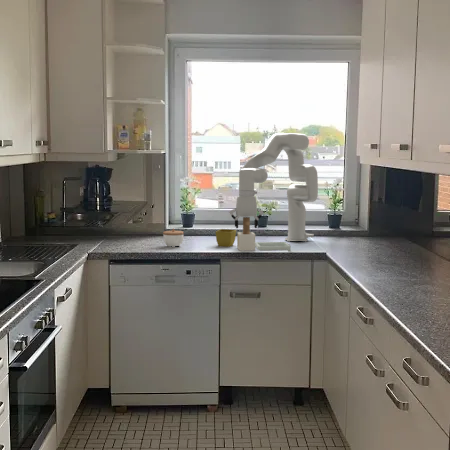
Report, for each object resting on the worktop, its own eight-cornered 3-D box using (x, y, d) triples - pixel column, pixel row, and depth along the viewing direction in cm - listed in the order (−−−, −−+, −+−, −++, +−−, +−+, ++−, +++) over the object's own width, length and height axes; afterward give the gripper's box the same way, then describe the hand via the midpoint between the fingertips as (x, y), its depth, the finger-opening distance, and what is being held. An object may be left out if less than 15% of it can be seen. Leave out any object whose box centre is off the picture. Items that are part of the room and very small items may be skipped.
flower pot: (231, 249, 327) (231, 231, 326) (215, 248, 330) (215, 231, 329) (236, 246, 335) (236, 229, 334) (220, 245, 338) (220, 229, 337)
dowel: (249, 248, 324) (249, 217, 322) (250, 249, 320) (250, 217, 318) (242, 248, 323) (242, 217, 321) (243, 249, 320) (243, 217, 318)
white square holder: (252, 249, 326) (252, 232, 325) (255, 252, 318) (255, 234, 317) (237, 249, 325) (237, 232, 324) (239, 252, 317) (239, 234, 316)
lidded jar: (185, 245, 341) (185, 227, 339) (181, 248, 330) (181, 230, 329) (165, 244, 342) (165, 227, 341) (161, 247, 331) (161, 230, 330)
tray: (285, 247, 334) (285, 241, 334) (290, 251, 321) (290, 246, 320) (254, 247, 333) (254, 242, 332) (259, 252, 319) (259, 246, 319)
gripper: (262, 193, 323) (262, 226, 325) (228, 193, 321) (228, 227, 323) (265, 194, 315) (264, 228, 318) (230, 194, 314) (229, 229, 316)
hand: (246, 227), depth 320 cm, fingers open, 9 cm apart
